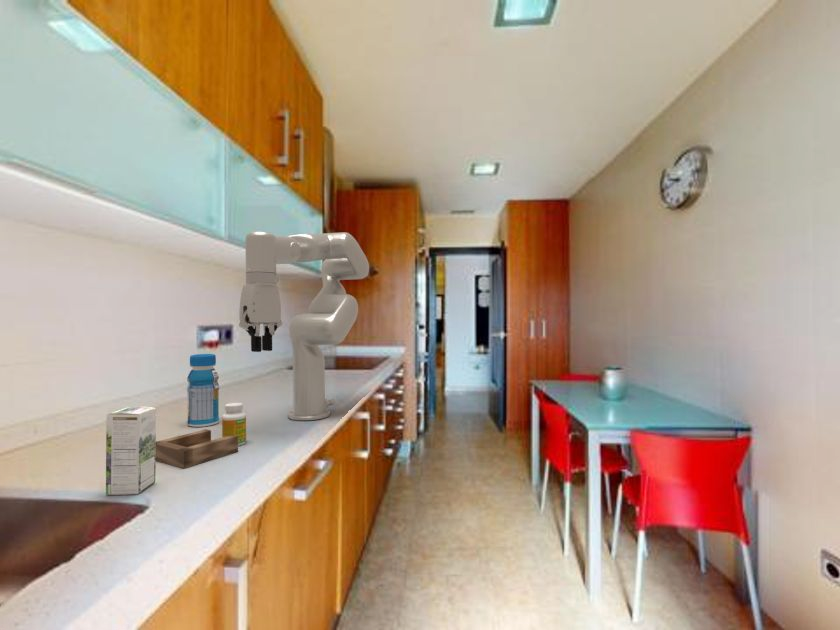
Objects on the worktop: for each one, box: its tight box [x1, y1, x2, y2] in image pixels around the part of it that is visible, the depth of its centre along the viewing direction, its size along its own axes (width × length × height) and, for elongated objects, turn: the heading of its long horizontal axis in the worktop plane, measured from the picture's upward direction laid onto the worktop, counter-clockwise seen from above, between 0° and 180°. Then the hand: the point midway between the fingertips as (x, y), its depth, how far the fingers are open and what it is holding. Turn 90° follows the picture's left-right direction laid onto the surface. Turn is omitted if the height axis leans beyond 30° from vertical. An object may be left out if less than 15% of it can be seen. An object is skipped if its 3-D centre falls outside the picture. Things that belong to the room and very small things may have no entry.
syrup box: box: [105, 406, 157, 496], centre depth 81 cm, size 6×6×14 cm
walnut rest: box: [156, 429, 239, 470], centre depth 100 cm, size 13×12×4 cm
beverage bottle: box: [186, 353, 220, 428], centre depth 129 cm, size 8×8×20 cm
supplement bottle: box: [221, 402, 247, 447], centre depth 109 cm, size 5×5×10 cm
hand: (261, 350), depth 116 cm, fingers open, 2 cm apart
